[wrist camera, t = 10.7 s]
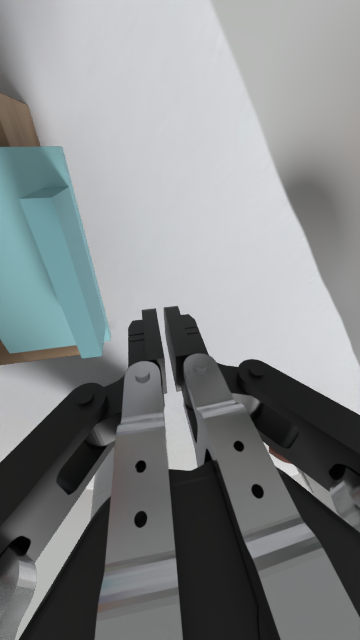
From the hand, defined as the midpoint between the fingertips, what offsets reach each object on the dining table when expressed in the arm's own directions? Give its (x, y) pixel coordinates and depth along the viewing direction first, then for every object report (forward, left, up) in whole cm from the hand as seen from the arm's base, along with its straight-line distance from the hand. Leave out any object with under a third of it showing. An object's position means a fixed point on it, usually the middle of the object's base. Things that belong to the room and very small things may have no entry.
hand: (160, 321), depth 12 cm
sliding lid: (0, +9, -9) cm, 13 cm away
